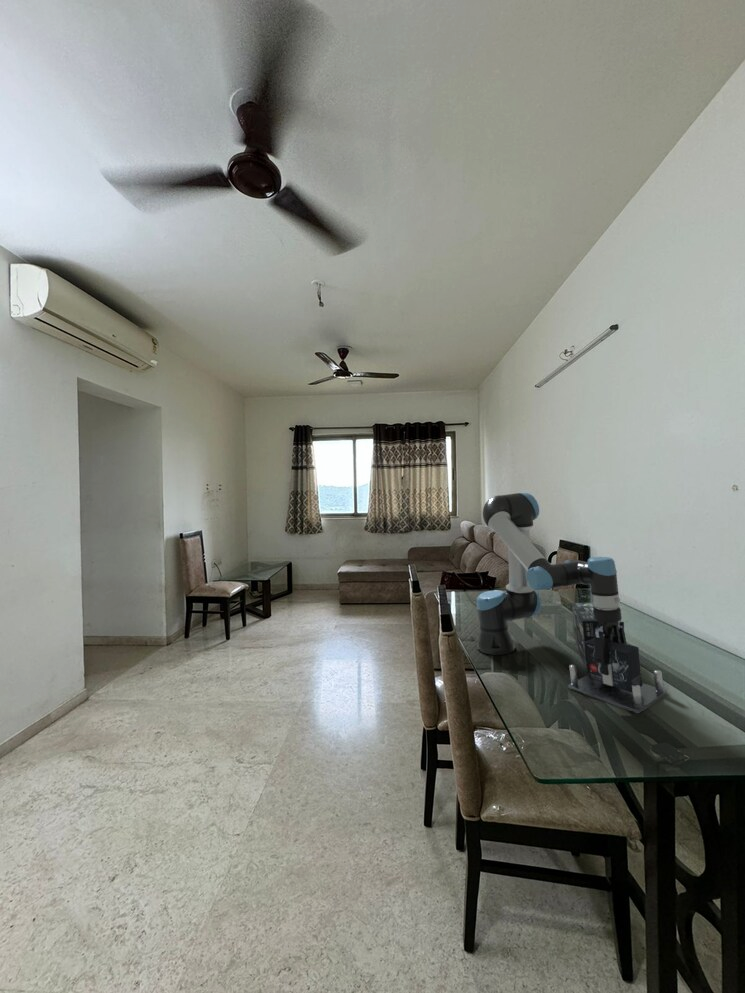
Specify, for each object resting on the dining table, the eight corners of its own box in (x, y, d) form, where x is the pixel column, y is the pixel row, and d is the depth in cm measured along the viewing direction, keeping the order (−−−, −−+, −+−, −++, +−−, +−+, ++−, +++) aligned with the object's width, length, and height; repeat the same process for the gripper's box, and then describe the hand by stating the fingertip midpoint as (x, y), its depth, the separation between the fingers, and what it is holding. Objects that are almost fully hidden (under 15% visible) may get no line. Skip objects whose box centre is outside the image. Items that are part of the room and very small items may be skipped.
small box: (588, 678, 128) (584, 641, 129) (600, 672, 132) (596, 636, 132) (631, 693, 117) (627, 652, 117) (643, 686, 120) (639, 646, 121)
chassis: (568, 688, 129) (566, 666, 129) (597, 672, 138) (595, 652, 138) (638, 714, 111) (635, 689, 111) (667, 693, 120) (664, 670, 120)
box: (620, 675, 135) (614, 619, 135) (587, 674, 138) (581, 619, 138) (603, 649, 157) (598, 601, 157) (575, 649, 160) (570, 602, 160)
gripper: (600, 616, 117) (610, 695, 116) (635, 602, 127) (643, 674, 126) (576, 612, 123) (585, 686, 122) (611, 598, 133) (619, 667, 133)
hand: (614, 680), depth 124 cm, fingers closed on small box, 7 cm apart
